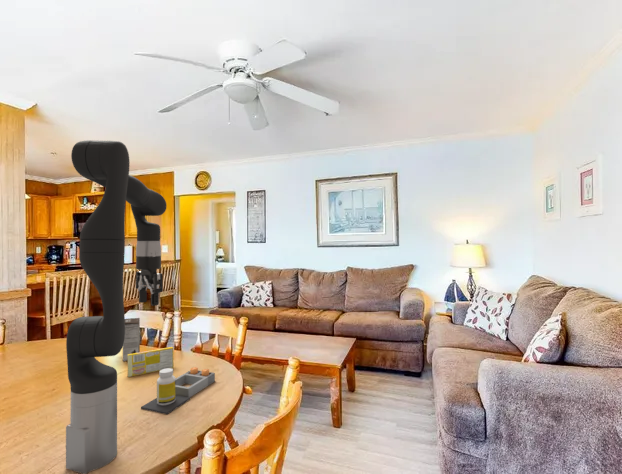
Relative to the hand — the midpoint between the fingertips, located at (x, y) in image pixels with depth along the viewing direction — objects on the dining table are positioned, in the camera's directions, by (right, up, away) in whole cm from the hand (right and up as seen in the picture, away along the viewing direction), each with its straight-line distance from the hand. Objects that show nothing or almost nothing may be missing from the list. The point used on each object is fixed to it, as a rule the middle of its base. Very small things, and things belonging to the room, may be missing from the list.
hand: (148, 303), depth 113 cm
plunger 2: (+16, -29, +10) cm, 34 cm away
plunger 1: (+11, -29, +11) cm, 33 cm away
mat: (+8, -30, -6) cm, 32 cm away
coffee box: (-25, -31, +36) cm, 54 cm away
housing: (+12, -30, +6) cm, 33 cm away
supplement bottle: (+8, -30, -6) cm, 31 cm away
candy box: (-9, -31, +20) cm, 38 cm away
